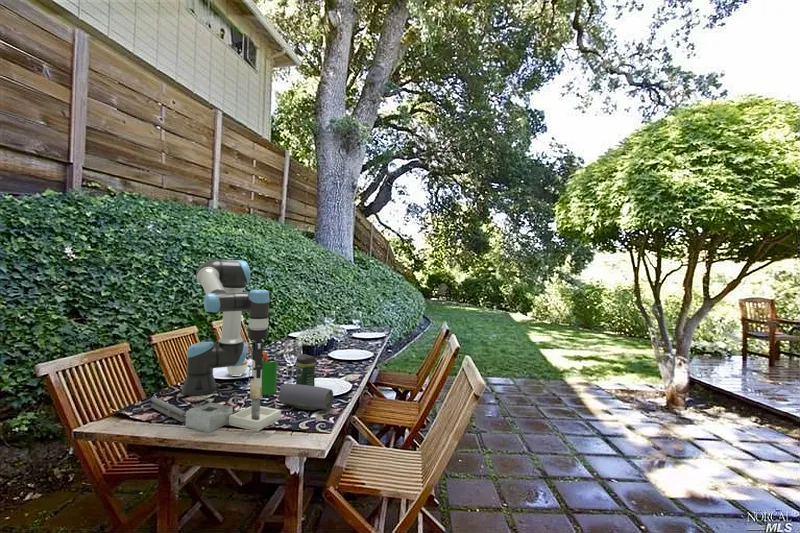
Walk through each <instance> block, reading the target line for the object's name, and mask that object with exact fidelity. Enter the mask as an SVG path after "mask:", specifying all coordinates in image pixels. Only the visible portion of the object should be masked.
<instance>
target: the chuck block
mask: <svg viewBox="0 0 800 533" xmlns="http://www.w3.org/2000/svg"><path fill="white" fill-rule="evenodd" d="M185 412H186V415H185V418H186V420H185V428H187V429H191V430H192V429H193V430H197V431H200V432H205V433H211V432H214V431H216V430H218V429H219V428H222V427H223V426H226V425H229V416H230V415H232V414H234V412H233V406H229V405H225V404H220V403H215V402H211V401H210V402H207V403H205V404H202V405H200V406H197V407H194V408H191V409H189V410H186V411H185Z"/></svg>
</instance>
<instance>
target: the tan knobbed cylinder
mask: <svg viewBox="0 0 800 533" xmlns="http://www.w3.org/2000/svg"><path fill="white" fill-rule="evenodd" d="M249 383H250V384H249V388H250V389H249V390H250V391H249V398H250V399H251V406H252V409H251V419H253V420H259V419H260V406H261V398H262V396H263V395H262V386H254V378H251V379H250V382H249Z"/></svg>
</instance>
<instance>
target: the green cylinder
mask: <svg viewBox="0 0 800 533" xmlns="http://www.w3.org/2000/svg"><path fill="white" fill-rule="evenodd" d="M268 356H269V355H268V353H267V352H264V351H263V353H262V361H263V369H262V396H269V395H274V394H275V393H277V381H278V380H277V377H278V376H277V375H278V360H273V361H271V360H268V359H269V357H268Z"/></svg>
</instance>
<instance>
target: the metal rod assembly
mask: <svg viewBox="0 0 800 533" xmlns="http://www.w3.org/2000/svg"><path fill="white" fill-rule="evenodd" d="M150 399H151V400H150V401H151V402H152V404H151V405H150V407H151V408H152V409H154V410H156V411H158V412H160V413H162V414H164V415H166V416H167V417H169V418H170V417H172V418H171V419H174V420H176V421H179V422H180V423H186V411H185V410H183V409H181V408H179V407H177V406H176V405H174V404H171V403H169V402H167V401H164V400H163V399H160V398H158V397H156V396H153V397H152V398H150Z"/></svg>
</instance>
